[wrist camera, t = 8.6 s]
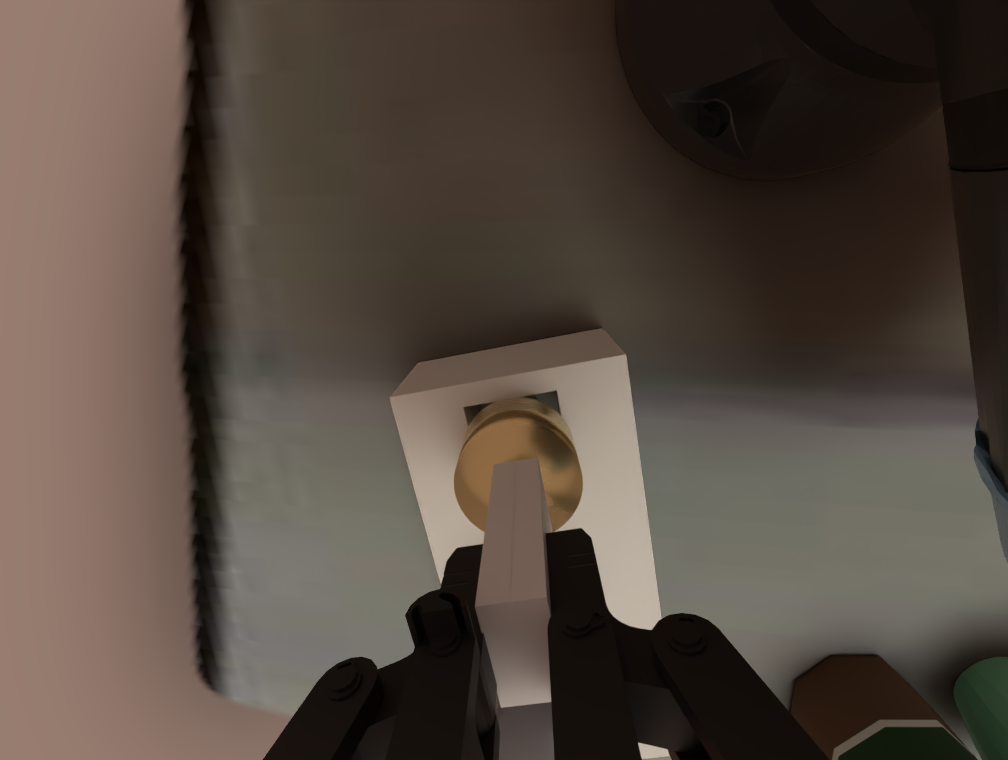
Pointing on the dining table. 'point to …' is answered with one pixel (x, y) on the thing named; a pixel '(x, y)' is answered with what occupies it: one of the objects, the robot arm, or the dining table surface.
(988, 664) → the mug
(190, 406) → the dining table surface
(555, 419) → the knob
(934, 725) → the beer bottle
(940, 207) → the dining table surface
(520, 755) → the knob mid
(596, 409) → the panel
